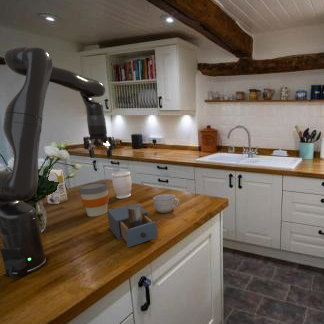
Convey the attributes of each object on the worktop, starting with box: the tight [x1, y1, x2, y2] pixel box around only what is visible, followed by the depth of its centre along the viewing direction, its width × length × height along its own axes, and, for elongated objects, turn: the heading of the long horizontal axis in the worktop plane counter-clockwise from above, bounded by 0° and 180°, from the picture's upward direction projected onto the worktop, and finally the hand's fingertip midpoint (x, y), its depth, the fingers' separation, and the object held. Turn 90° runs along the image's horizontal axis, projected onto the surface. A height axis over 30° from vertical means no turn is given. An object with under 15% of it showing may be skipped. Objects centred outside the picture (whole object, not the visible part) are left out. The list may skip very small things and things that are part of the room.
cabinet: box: [107, 202, 150, 241], centre depth 109 cm, size 15×13×9 cm
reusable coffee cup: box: [78, 181, 110, 218], centre depth 126 cm, size 13×13×15 cm
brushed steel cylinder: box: [127, 203, 143, 228], centre depth 100 cm, size 5×5×12 cm
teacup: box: [152, 193, 180, 214], centre depth 128 cm, size 14×11×8 cm
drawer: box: [119, 215, 159, 248], centre depth 101 cm, size 15×11×7 cm
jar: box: [111, 170, 133, 200], centre depth 151 cm, size 11×10×15 cm
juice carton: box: [46, 168, 68, 205], centre depth 142 cm, size 8×9×19 cm
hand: (101, 157), depth 121 cm, fingers open, 8 cm apart
